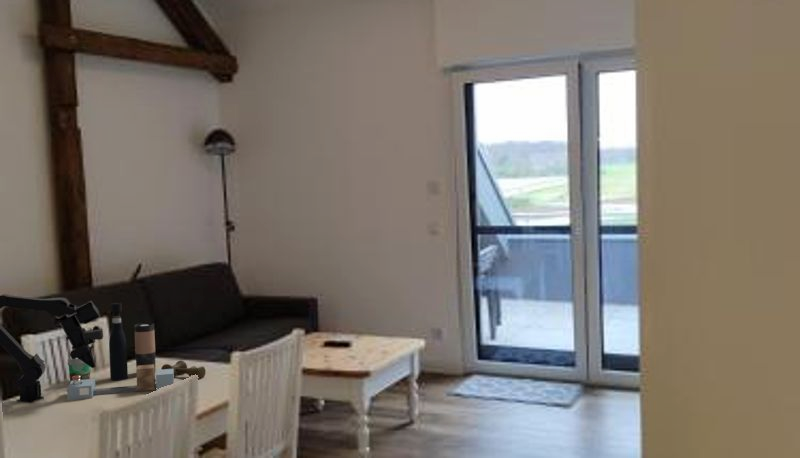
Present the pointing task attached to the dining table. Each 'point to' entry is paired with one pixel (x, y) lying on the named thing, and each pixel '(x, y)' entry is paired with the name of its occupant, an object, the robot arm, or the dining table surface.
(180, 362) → the kendama
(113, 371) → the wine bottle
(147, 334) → the travel mug
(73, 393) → the cabinet
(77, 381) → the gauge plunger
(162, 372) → the end block
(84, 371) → the food container
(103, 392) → the rail
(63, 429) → the dining table surface
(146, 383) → the block
